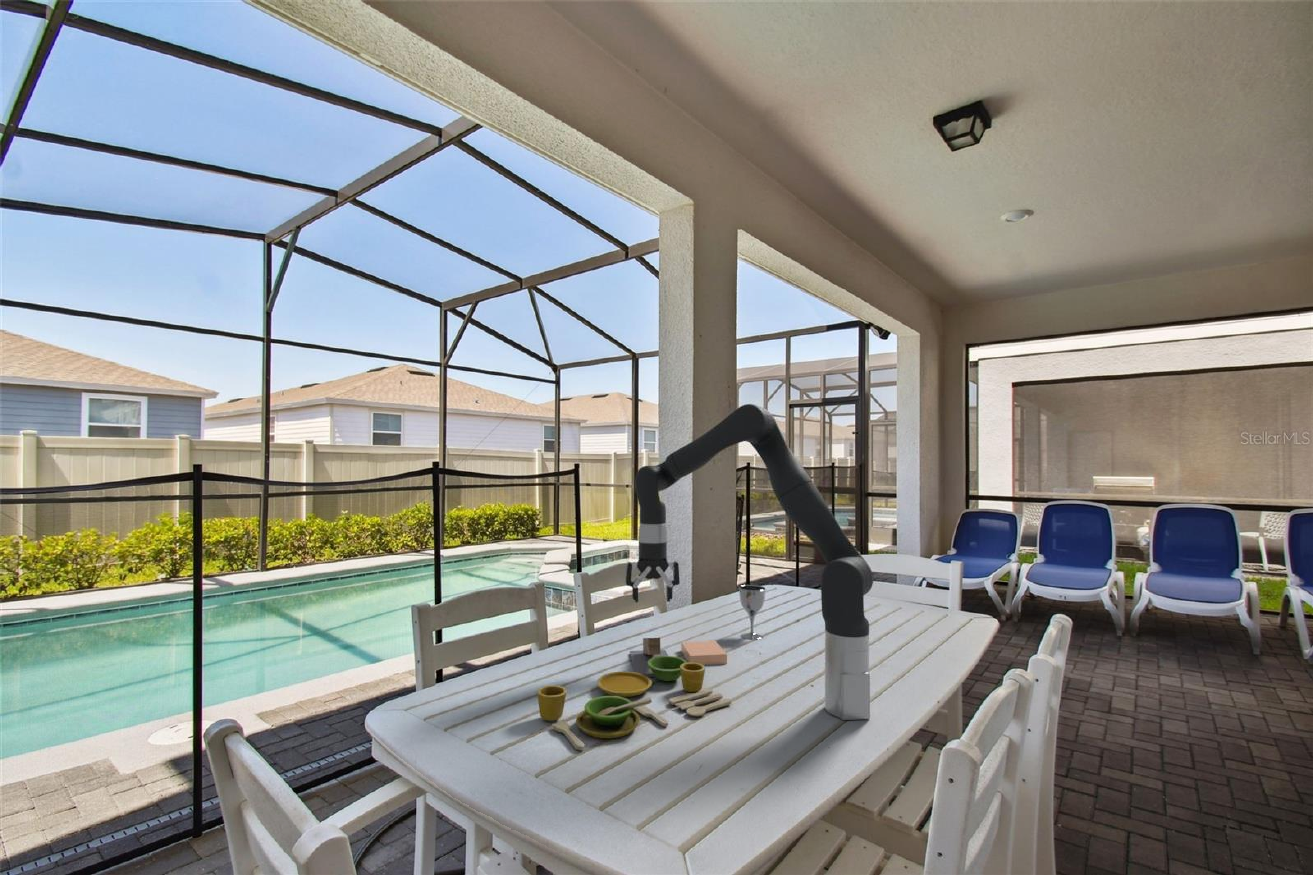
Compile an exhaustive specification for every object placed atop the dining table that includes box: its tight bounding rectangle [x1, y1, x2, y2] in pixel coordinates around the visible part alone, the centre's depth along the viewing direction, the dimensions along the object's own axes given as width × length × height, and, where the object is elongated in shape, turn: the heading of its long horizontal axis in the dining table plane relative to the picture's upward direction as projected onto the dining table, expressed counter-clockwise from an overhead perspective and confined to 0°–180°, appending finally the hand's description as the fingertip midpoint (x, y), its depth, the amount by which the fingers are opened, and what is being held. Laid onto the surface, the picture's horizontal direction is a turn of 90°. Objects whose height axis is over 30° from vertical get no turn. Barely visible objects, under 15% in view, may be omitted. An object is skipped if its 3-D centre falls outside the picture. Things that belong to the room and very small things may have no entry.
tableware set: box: [536, 655, 732, 751], centre depth 130 cm, size 41×28×6 cm
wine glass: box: [738, 584, 766, 641], centre depth 183 cm, size 8×8×15 cm
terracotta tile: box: [680, 640, 728, 666], centre depth 163 cm, size 3×10×12 cm
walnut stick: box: [642, 637, 661, 655], centre depth 157 cm, size 14×3×4 cm, turn 7°
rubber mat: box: [629, 649, 669, 678], centre depth 156 cm, size 18×10×1 cm, turn 7°
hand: (652, 601), depth 157 cm, fingers open, 8 cm apart
